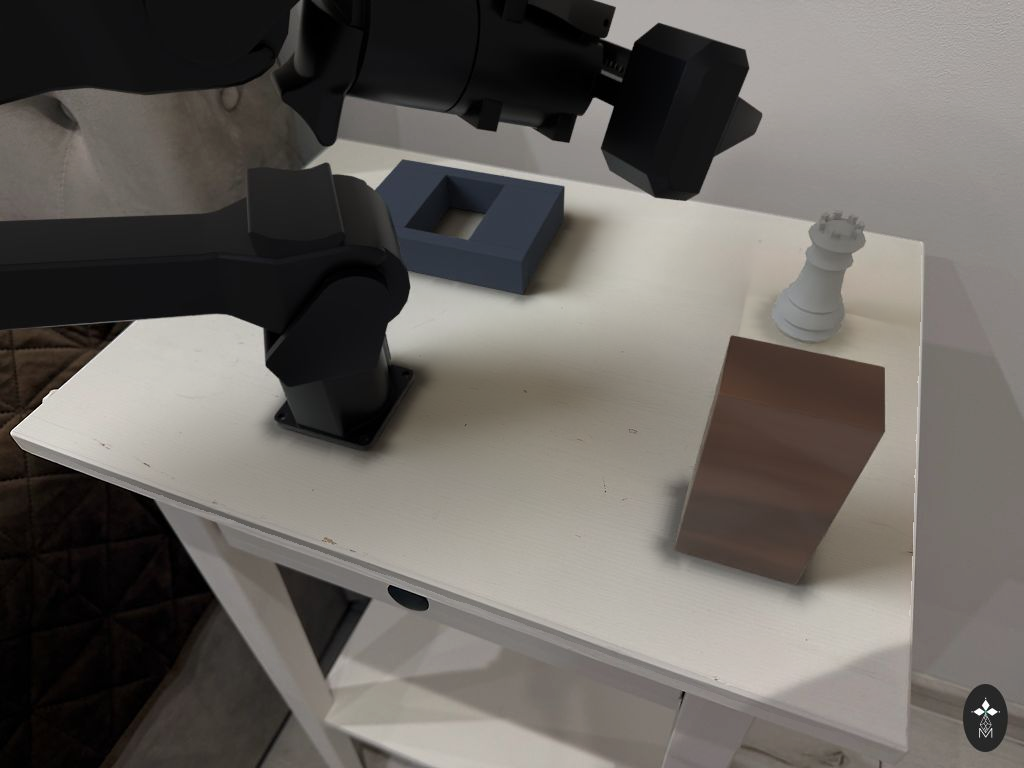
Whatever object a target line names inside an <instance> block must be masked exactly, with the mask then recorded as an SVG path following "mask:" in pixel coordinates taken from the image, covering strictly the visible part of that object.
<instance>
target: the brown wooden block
mask: <svg viewBox="0 0 1024 768" xmlns="http://www.w3.org/2000/svg"><path fill="white" fill-rule="evenodd" d="M708 412H709V413H708V416H707V419H706V422H705V426H704V430H703V433H702V436H701V440H700V444H699V448H698V452H697V454H696V459H695V462H694V466H693V468H692V469H693V470H692V473H691V477H690V480H689V484H688V487H687V491H686V494H685V499H684V503H683V508H682V511H681V516H680V520H679V525H678V529H677V534H676V539H675V543H674V547H673V549H674V551H676V552H679V553H682V554H686V555H689V556H693V557H696V558H699V559H704V560H707V561H710V562H713V563H717V564H720V565H723V566H727V567H731V568H733V569H737V570H741V571H745V572H747V573H751V574H755V575H758V576H761V577H765V578H768V579H771V580H775V581H778V582H782V583H786V584H789V585H792V586H797V584H798V583H799V582H800V579H801V577H802V576H803V574H804V572H805V570H806V569H807V568H808V565H809V563H810V562H811V561H812V558H813V557H814V555H815V554H816V551H817V550H818V548H819V546H820V544H821V543H822V542H823V540H824V538H825V537H826V534H827V533H828V531H829V529H830V527H831V526H832V524H833V522H834V521H835V519H836V517H837V516H838V513H840V510H841V508H843V505H844V504H845V502H846V500H847V498H848V496H850V493H851V491H852V490H853V488H854V486H855V485H856V483H857V481H858V479H859V478H860V476H861V474H862V473H863V470H864V469H865V467H866V466H867V464H868V462H869V461H870V459H871V457H872V455H873V454H874V452H875V450H876V448H877V447H878V445H879V443H880V441H881V440H882V438H883V436H884V435H885V433H886V368H885V366H882V365H878V364H872V363H867V362H862V361H858V360H853V359H848V358H844V357H839V356H834V355H831V354H830V355H829V354H825V353H820V352H816V351H810V350H806V349H801V348H796V347H792V346H787V345H783V344H777V343H772V342H767V341H762V340H758V339H753V338H748V337H744V336H738V335H733V334H731V335H730V337H729V339H728V343H727V346H726V351H725V354H724V358H723V362H722V365H721V369H720V371H719V376H718V380H717V383H716V387H715V390H714V394H713V398H712V401H711V404H710V408H709V411H708Z"/></svg>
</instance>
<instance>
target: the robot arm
mask: <svg viewBox="0 0 1024 768" xmlns="http://www.w3.org/2000/svg"><path fill="white" fill-rule="evenodd" d="M300 1H301V8H300V16H299V22H298V29H297V35H296V42H295V48H294V50H293V52H292V53H291V55H290V56H289V58H287V59H286V61H284V63H283V64H281V65H280V66H279V67H277V68H275V69H273V70H272V71H271V72H270V80H271V82H272V84H273V87H274V88H275V90H276V92H277V94H278V96H279V99H280V100H281V101H282V103H284V104H285V105H287V106H288V107H289V108H290V109H292V110H293V111H295V112H296V113H297V114H298V116H299V117H300V118H301V119H302V120H303V121H304V122H305V123H306V125H307V126H308V127H309V129H310V130H311V132H312V133H313V135H314V136H315V138H316V140H317V142H318V144H319V145H320V146H322V147H325V148H330V147H332V146H333V145H334V144H336V142H337V139H338V133H339V127H340V123H341V117H342V112H343V107H344V102H345V98H349V99H354V100H360V101H367V102H373V103H379V104H386V105H391V106H398V107H404V108H411V109H415V110H422V111H429V112H436V113H441V114H447V115H454V116H457V117H458V118H460V119H462V120H463V121H464V122H466V123H467V124H468V125H470V126H472V127H473V128H474V129H476V130H479V131H487V132H494V133H497V131H498V128H499V123H503V124H509V125H514V126H515V125H516V126H522V127H529V128H531V129H533V130H534V131H536V132H537V133H540V135H543V136H544V137H546V139H549V140H551V141H552V142H560V143H565V144H570V142H571V139H572V136H573V133H574V128H575V125H576V122H577V120H578V117H583V116H584V115H585V113H586V112H587V111H588V110H589V107H590V106H591V103H592V102H593V99H598V100H600V101H602V102H604V103H606V104H608V105H609V106H612V107H613V108H612V111H611V114H610V116H609V117H610V118H609V121H608V123H607V128H606V129H605V133H604V135H603V139H602V141H601V146H600V150H601V153H602V155H603V157H604V160H605V163H606V165H607V168H608V171H610V172H611V173H613V174H614V175H616V176H618V177H619V178H621V179H623V180H624V181H626V182H628V183H629V184H631V185H633V186H634V187H636V188H638V189H639V190H641V191H643V192H645V193H646V194H647V195H650V196H651V197H653V198H654V199H661V200H669V201H679V202H687V201H688V200H691V199H692V198H694V197H696V196H697V195H700V193H701V190H702V187H703V185H704V182H705V180H706V178H707V176H708V172H709V171H710V168H711V166H712V163H713V160H714V158H715V157H717V156H719V155H720V154H722V153H724V152H726V151H728V150H730V149H731V148H733V147H734V146H737V145H738V144H740V143H742V142H744V141H746V140H748V139H749V138H751V137H753V136H754V135H755V134H756V133H757V130H758V128H759V126H760V124H761V121H762V119H763V112H762V111H761V110H759V109H757V107H755V106H753V105H752V104H751V103H749V102H747V100H745V99H743V98H742V97H740V93H741V91H742V89H743V86H744V83H745V81H746V78H747V76H748V73H749V71H750V64H749V59H748V55H747V50H746V49H745V48H742V47H739V46H735V45H732V44H729V43H727V42H723V41H721V40H717V39H714V38H711V37H707V36H704V35H702V34H699V33H695V32H691V31H688V30H685V29H682V28H678V27H675V26H671V25H669V24H665V23H662V22H657V23H656V24H654V25H653V26H652V27H651V28H649V30H647V31H646V32H645V33H643V34H642V35H641V36H639V38H637V39H636V40H635V41H634V42H633V44H632V45H633V46H632V48H628V47H625V46H623V45H620V44H618V43H615V42H613V41H610V40H607V39H606V38H607V37H608V36H609V33H610V29H611V26H612V23H613V19H614V16H615V13H616V9H617V7H616V6H614V5H611V4H608V3H605V2H602V1H598V0H0V106H2V105H3V106H4V105H7V104H11V103H14V102H18V101H21V100H25V99H28V98H32V97H36V96H40V95H44V94H48V93H51V92H52V93H53V92H59V91H70V90H71V91H72V90H80V89H81V90H83V89H94V90H102V91H109V92H117V93H123V94H129V95H131V94H132V95H138V96H155V95H157V96H158V95H165V94H166V95H167V94H178V93H188V92H199V91H208V90H209V91H210V90H218V89H219V90H221V89H230V88H235V87H241V86H244V85H246V84H249V83H251V82H252V81H254V80H257V79H258V78H260V77H262V76H263V75H264V74H266V73H267V72H268V71H270V69H271V68H272V67H274V66H275V64H276V62H277V61H276V60H277V58H278V57H279V55H280V53H281V51H282V48H283V47H284V44H285V42H286V40H287V37H288V35H289V32H290V31H289V30H290V19H291V10H292V9H293V8H295V6H296V5H297V4H298V3H299V2H300ZM332 171H333V170H332V166H331V164H330V163H329V162H327V161H326V162H323V163H320V164H318V165H315V166H313V167H309V168H302V169H284V168H277V167H271V166H270V167H269V166H257V167H249V168H247V169H246V170H245V171H244V172H245V194H246V196H245V197H242V198H241V199H238V200H236V201H234V202H232V203H230V204H228V205H226V206H224V207H222V208H220V209H218V210H214V211H209V212H202V213H181V214H179V213H178V214H155V215H154V214H153V215H152V214H151V215H150V214H149V215H127V216H123V215H122V216H101V217H99V216H98V217H71V218H48V219H47V218H46V219H45V218H44V219H42V218H41V219H20V220H19V219H18V220H17V219H16V220H15V219H14V220H0V332H2V331H15V330H26V329H40V328H41V329H42V328H53V327H65V326H78V325H81V326H82V325H93V324H106V323H120V322H132V321H145V320H158V319H160V320H161V319H171V318H185V317H197V316H198V317H200V316H210V315H219V316H222V315H224V316H230V317H234V318H235V319H238V320H241V321H244V322H247V323H249V324H252V325H254V326H257V327H259V328H262V334H263V349H264V352H263V353H264V365H265V367H266V368H267V370H269V371H270V373H272V374H273V375H274V376H275V377H276V378H277V379H278V381H279V383H280V386H281V388H282V391H283V393H284V396H285V398H286V400H284V402H283V404H282V405H281V406H280V407H279V409H278V410H277V411H276V413H275V414H274V421H275V424H276V425H277V426H278V427H280V428H284V429H288V430H291V431H294V432H298V433H301V434H304V435H308V436H312V437H315V438H318V439H322V440H326V441H328V442H333V443H336V444H339V445H343V446H347V447H350V448H353V449H357V450H360V451H368V450H370V449H371V448H372V447H373V446H374V445H375V443H376V442H377V440H378V438H379V436H380V435H381V433H382V432H383V431H384V428H385V427H386V425H387V424H388V422H389V421H390V419H391V417H392V416H393V414H394V413H395V411H396V409H397V407H398V406H399V404H400V403H401V401H402V400H403V398H404V396H406V393H407V392H408V390H409V389H410V387H411V385H412V384H413V382H414V380H415V375H414V371H413V370H412V369H411V368H408V367H404V366H400V365H396V364H392V362H391V360H392V355H391V350H390V346H389V341H388V338H387V329H388V326H389V324H390V323H391V322H392V321H393V320H394V319H396V317H398V316H399V315H400V314H401V312H402V311H403V309H404V308H405V306H406V304H407V303H408V301H409V296H410V291H411V281H410V275H409V270H407V267H406V264H405V261H404V257H403V254H402V251H401V247H400V244H399V241H398V237H397V234H396V231H395V227H394V224H393V221H392V217H391V214H390V211H389V208H388V207H387V205H386V203H385V201H384V200H383V198H382V196H381V195H379V194H378V193H377V192H376V191H375V189H374V188H372V187H371V186H370V185H369V184H368V183H367V182H366V180H364V179H361V178H359V177H357V176H353V175H348V174H342V173H341V174H340V173H333V172H332Z"/></svg>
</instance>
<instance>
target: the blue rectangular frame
mask: <svg viewBox="0 0 1024 768" xmlns="http://www.w3.org/2000/svg"><path fill="white" fill-rule="evenodd" d="M565 187H566V186H565V185H562V184H561V185H560V184H555V183H548V182H542V181H536V180H531V179H524V178H518V177H512V176H505V175H502V174H501V175H499V174H493V173H489V172H488V173H487V172H483V171H476V170H471V169H470V170H469V169H466V168H465V169H464V168H458V167H453V166H452V167H451V166H446V165H441V164H440V165H439V164H434V163H427V162H423V161H415V160H409V159H405V158H404V159H403V158H401V160H400V161H399V162H398V164H397V165H395V167H394V168H393V169H392V170H391V171H390V172H389V174H387V176H386V177H385V178H384V179H383V180H382V181H381V183H379V184H378V186H376V188H375V189H374V190H375V191H376V192H377V193H378V194H379V195H381V196H382V198H383V200H384V201H385V203H386V205H387V207H388V208H389V211H390V214H391V217H392V221H393V224H394V227H395V231H396V234H397V237H398V241H399V244H400V247H401V251H402V254H403V257H404V261H405V264H406V267H407V270H408V272H413V273H419V274H422V275H423V274H424V275H428V276H433V277H438V278H442V279H447V280H452V281H456V282H462V283H467V284H471V285H475V286H479V287H484V288H485V287H486V288H490V289H495V290H500V291H505V292H509V293H514V294H519V295H524V293H525V291H526V290H527V288H528V286H529V284H530V282H531V281H532V278H533V276H534V275H535V273H536V271H537V269H538V267H539V265H540V263H541V262H542V260H543V258H544V257H545V254H546V252H547V250H548V248H549V247H550V245H551V243H552V241H553V240H554V237H555V236H556V234H557V233H558V230H559V228H560V226H561V225H562V223H563V221H564V219H565V190H566V188H565ZM449 208H454V209H460V210H465V211H471V212H476V213H480V214H481V213H482V214H484V216H483V217H482V219H481V221H480V222H479V223H478V224H477V226H476V228H475V229H474V231H473V232H472V233H471V235H470V237H469V238H468V239H466V238H460V237H455V236H450V235H445V234H441V233H435V232H433V230H434V229H435V227H436V226H437V224H438V223H439V222H440V221H441V219H442V218H443V217H444V215H445V214H446V213H447V211H448V210H449Z"/></svg>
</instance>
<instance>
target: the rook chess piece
mask: <svg viewBox="0 0 1024 768" xmlns="http://www.w3.org/2000/svg"><path fill="white" fill-rule="evenodd" d="M843 213H844V212H843V210H834V211H833V213H832V215H831V213H829V212H828V211H826V212H824V213H822V214H821V215H820V218H819V219H818V222H816V223H814V224H812V225H810V227H809V229H808V230H807V233H808V237H809V240H810V241H811V245H810V246H808V247H806V250H805V252H804V254H805V258H806V259H805V262H804V265H803V267H802V268H801V271H800V272H799V274H798V276H797V278H796V279H795V280H794V281H793V282H791V283H789V285H788V287H786V288H784V289H783V290H782V291H781V292H780V293H779V295H778V297H777V299H776V301H775V304H774V306H773V307H772V310H771V317H772V321H773V323H774V325H775V326H776V327H777V329H778V330H779V332H780V333H782V334H783V335H785V336H786V337H787V338H789V339H791V340H794V341H798V342H800V343H805V344H807V343H808V344H816V343H821V342H825V341H828V340H830V339H832V338H834V336H836V335H838V334H839V333H840V331H841V328H842V322H843V320H844V318H845V316H846V310H845V309H846V308H845V306H844V297H843V294H842V288H843V284H844V278H845V274H846V272H847V269H849V268H851V267H852V266H853V263H854V257H853V254H854V253H856V252H858V251H859V250H861V249H863V248H864V247H865V245H866V243H867V240H866V237H865V233H864V232H863V231H864V229H865V228H866V226H865V222H864V221H858V219H859V216H858V215H855V214H854V213H850V214H849V215H848V218H844V217H843ZM857 221H858V222H857Z"/></svg>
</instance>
